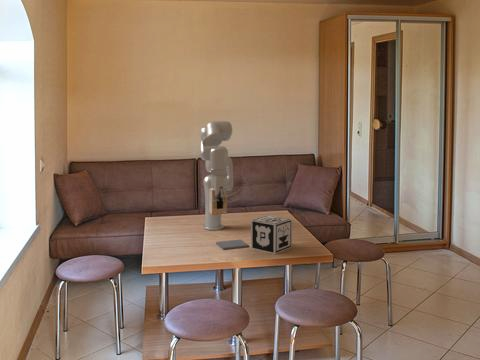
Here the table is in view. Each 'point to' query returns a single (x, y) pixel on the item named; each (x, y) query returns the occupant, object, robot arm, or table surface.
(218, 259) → the table surface
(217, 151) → the robot arm
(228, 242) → the rubber mat
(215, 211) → the supplement box
